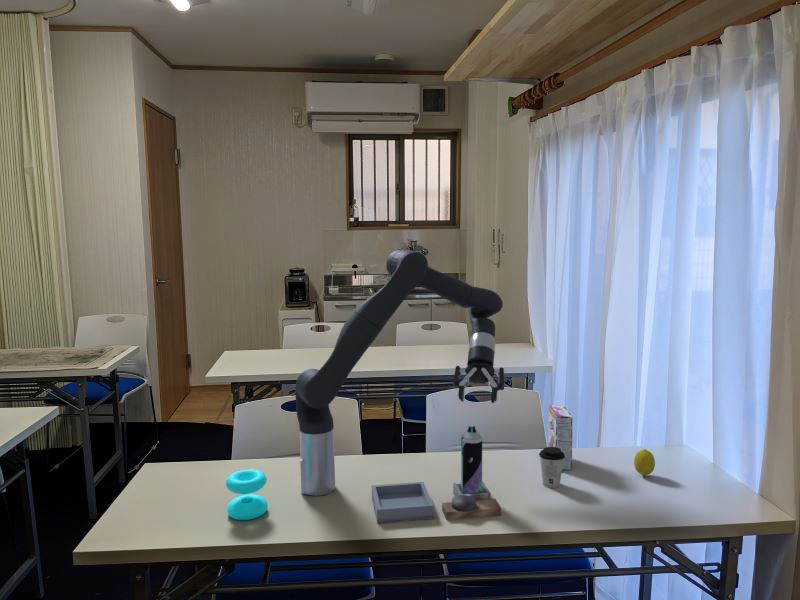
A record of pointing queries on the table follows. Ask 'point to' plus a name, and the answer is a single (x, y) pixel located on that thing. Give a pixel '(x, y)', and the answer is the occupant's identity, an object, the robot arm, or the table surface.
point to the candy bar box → (561, 432)
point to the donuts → (249, 503)
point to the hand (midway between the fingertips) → (477, 401)
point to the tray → (402, 502)
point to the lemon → (644, 462)
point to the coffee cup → (551, 466)
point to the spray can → (471, 462)
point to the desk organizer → (470, 504)
